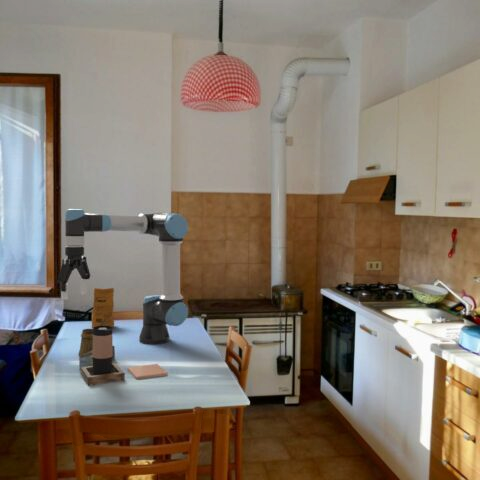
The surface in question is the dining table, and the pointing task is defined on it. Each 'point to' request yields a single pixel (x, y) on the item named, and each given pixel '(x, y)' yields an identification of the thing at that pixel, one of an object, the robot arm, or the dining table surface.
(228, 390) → the dining table surface
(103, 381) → the collar
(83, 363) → the beverage carton
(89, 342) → the wooden mug
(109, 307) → the coffee package
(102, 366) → the travel mug
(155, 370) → the coaster tile
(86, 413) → the dining table surface
